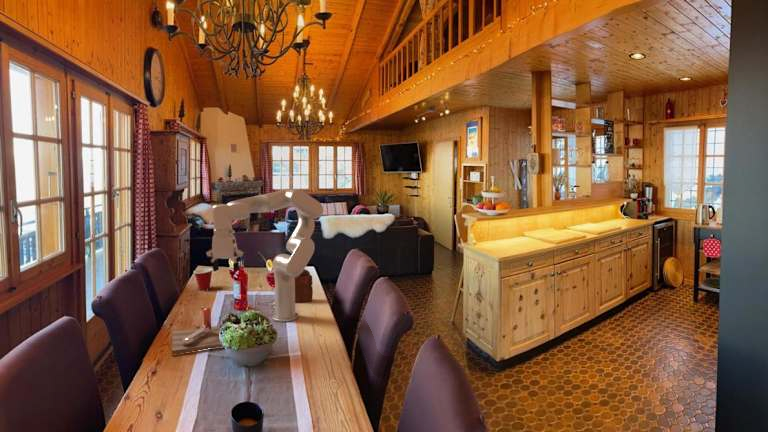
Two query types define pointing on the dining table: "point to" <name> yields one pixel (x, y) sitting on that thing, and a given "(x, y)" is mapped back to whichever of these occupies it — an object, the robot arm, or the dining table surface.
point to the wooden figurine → (303, 287)
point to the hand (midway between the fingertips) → (226, 270)
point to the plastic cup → (203, 278)
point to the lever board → (200, 343)
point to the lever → (203, 330)
